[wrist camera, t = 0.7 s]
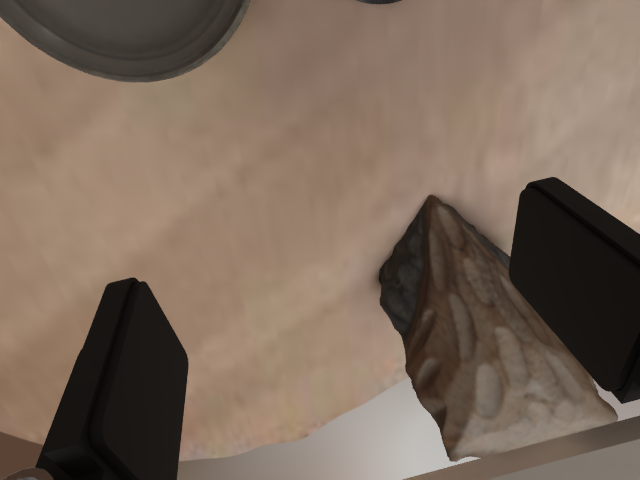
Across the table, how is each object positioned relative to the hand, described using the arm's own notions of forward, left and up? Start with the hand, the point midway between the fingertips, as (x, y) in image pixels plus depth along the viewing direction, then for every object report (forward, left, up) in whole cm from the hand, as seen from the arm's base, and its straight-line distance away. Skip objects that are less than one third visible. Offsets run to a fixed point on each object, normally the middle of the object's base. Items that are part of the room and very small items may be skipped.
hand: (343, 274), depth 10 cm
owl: (-21, +14, -25) cm, 35 cm away
